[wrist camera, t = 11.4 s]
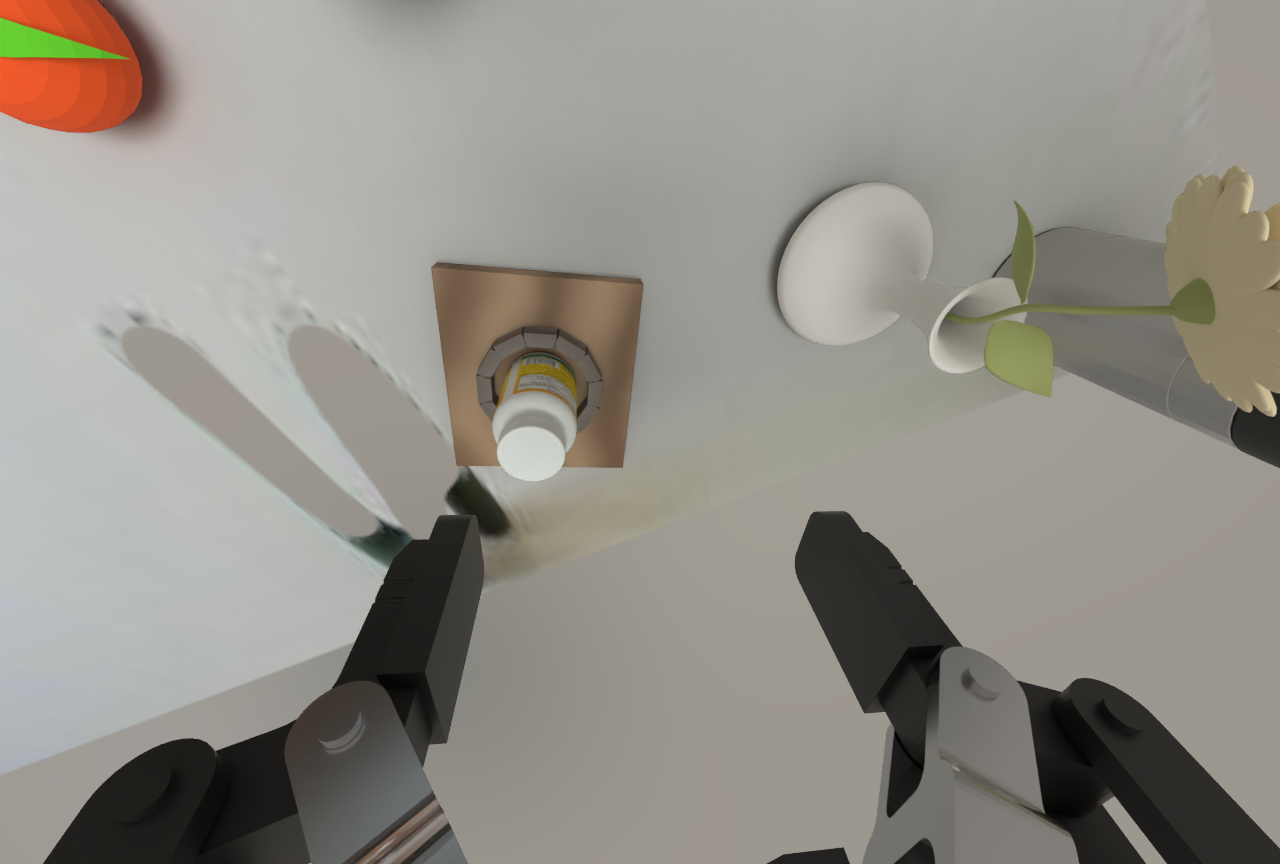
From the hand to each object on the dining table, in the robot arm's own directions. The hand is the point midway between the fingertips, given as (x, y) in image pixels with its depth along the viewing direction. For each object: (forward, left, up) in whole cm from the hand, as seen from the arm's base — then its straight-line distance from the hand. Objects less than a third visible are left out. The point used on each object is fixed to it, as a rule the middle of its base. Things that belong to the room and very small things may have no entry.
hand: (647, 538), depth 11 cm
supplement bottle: (+4, +8, -24) cm, 26 cm away
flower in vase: (-18, -3, -26) cm, 32 cm away
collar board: (+4, +8, -26) cm, 27 cm away
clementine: (+26, -9, -26) cm, 38 cm away
